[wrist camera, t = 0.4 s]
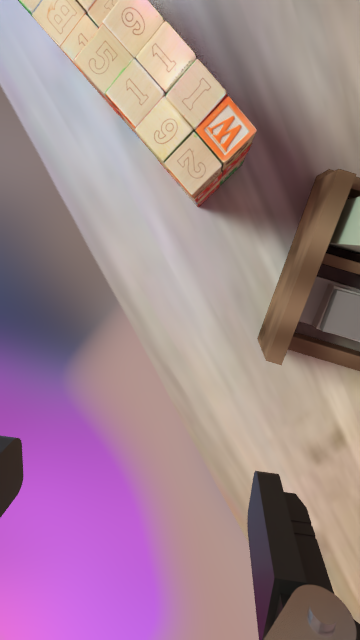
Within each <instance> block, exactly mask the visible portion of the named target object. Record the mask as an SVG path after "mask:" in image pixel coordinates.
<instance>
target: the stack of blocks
mask: <svg viewBox="0 0 360 640" xmlns="http://www.w3.org/2000/svg"><path fill="white" fill-rule="evenodd" d="M18 1H19V2H20V3H21V4H22V6H23V7H24V8H25V9H26V10H27V11H28V12H29V13H30V14H31V16H32V17H33V18H34V19H35V20H36V21H37V22H38V23H39V25H40V26H41V27H42V28H43V29H44V30H45V32H46V33H47V34H48V35H49V36H50V37H51V38H52V40H53V41H54V42H55V43H56V44H57V45H58V46H59V47H60V49H61V50H62V51H63V52H64V53H65V54H66V55H67V57H68V58H69V59H70V60H71V61H72V62H73V64H74V65H75V66H76V67H77V68H78V69H79V70H80V72H81V73H82V74H83V75H84V76H85V78H86V79H87V80H88V81H89V82H90V84H91V85H92V86H93V87H94V88H95V89H96V90H97V91H98V92H99V94H100V95H101V96H102V97H103V98H104V99H105V100H106V101H107V103H108V104H109V105H110V106H111V107H112V108H113V109H114V111H115V112H116V113H117V114H118V115H119V116H120V117H121V118H122V119H123V120H124V121H125V123H126V124H127V125H128V126H129V127H130V128H131V129H132V131H134V133H135V134H136V135H137V136H138V137H139V138H140V139H141V140H142V141H143V143H144V144H145V145H146V146H147V147H148V148H149V150H150V151H151V152H152V153H153V154H154V155H155V157H156V158H157V159H158V161H159V162H160V163H161V164H162V165H163V167H164V168H165V169H166V170H167V171H168V173H169V174H170V175H171V176H172V177H173V178H174V180H175V181H176V182H177V183H178V185H179V186H180V187H181V188H182V189H183V191H184V192H185V193H186V194H187V195H188V196H189V198H190V199H191V200H192V201H193V202H194V203H195V205H196V206H197V207H199V206H200V205H201V204H202V203H203V202H204V201H205V200H206V199H207V198H208V197H209V196H210V195H211V194H212V193H213V192H215V191H216V190H217V189H218V188H219V186H220V185H221V184H222V183H223V182H224V181H225V180H226V179H227V178H228V177H229V176H231V175H232V174H233V173H234V172H235V171H236V170H237V169H238V168H239V167H240V166H241V165H242V163H243V161H244V158H245V156H246V154H247V152H248V151H249V149H250V147H251V145H252V140H253V138H254V136H255V134H256V132H257V129H256V128H255V127H254V126H253V124H252V123H251V122H250V121H249V120H248V118H247V117H246V116H245V115H244V114H243V113H242V111H241V110H240V109H239V108H238V107H237V105H236V104H235V103H234V102H233V100H232V99H231V98H230V97H229V96H227V92H226V90H225V89H224V88H223V87H222V86H221V85H220V83H219V82H218V81H217V80H216V79H215V78H214V77H213V75H212V74H211V73H210V72H209V71H208V70H207V68H206V67H205V66H204V65H203V64H202V63H201V62H200V61H199V60H198V59H197V57H196V55H195V53H194V52H193V51H192V49H191V48H190V47H189V46H188V45H187V44H186V43H185V41H184V40H183V39H182V38H181V37H180V36H179V34H178V33H177V32H176V31H175V30H174V29H173V27H172V26H171V25H170V24H169V23H168V22H166V21H165V20H164V19H163V17H162V16H161V14H160V13H159V12H158V11H157V10H156V9H155V8H154V6H153V5H152V4H151V3H150V2H149V1H148V0H18Z"/></svg>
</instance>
